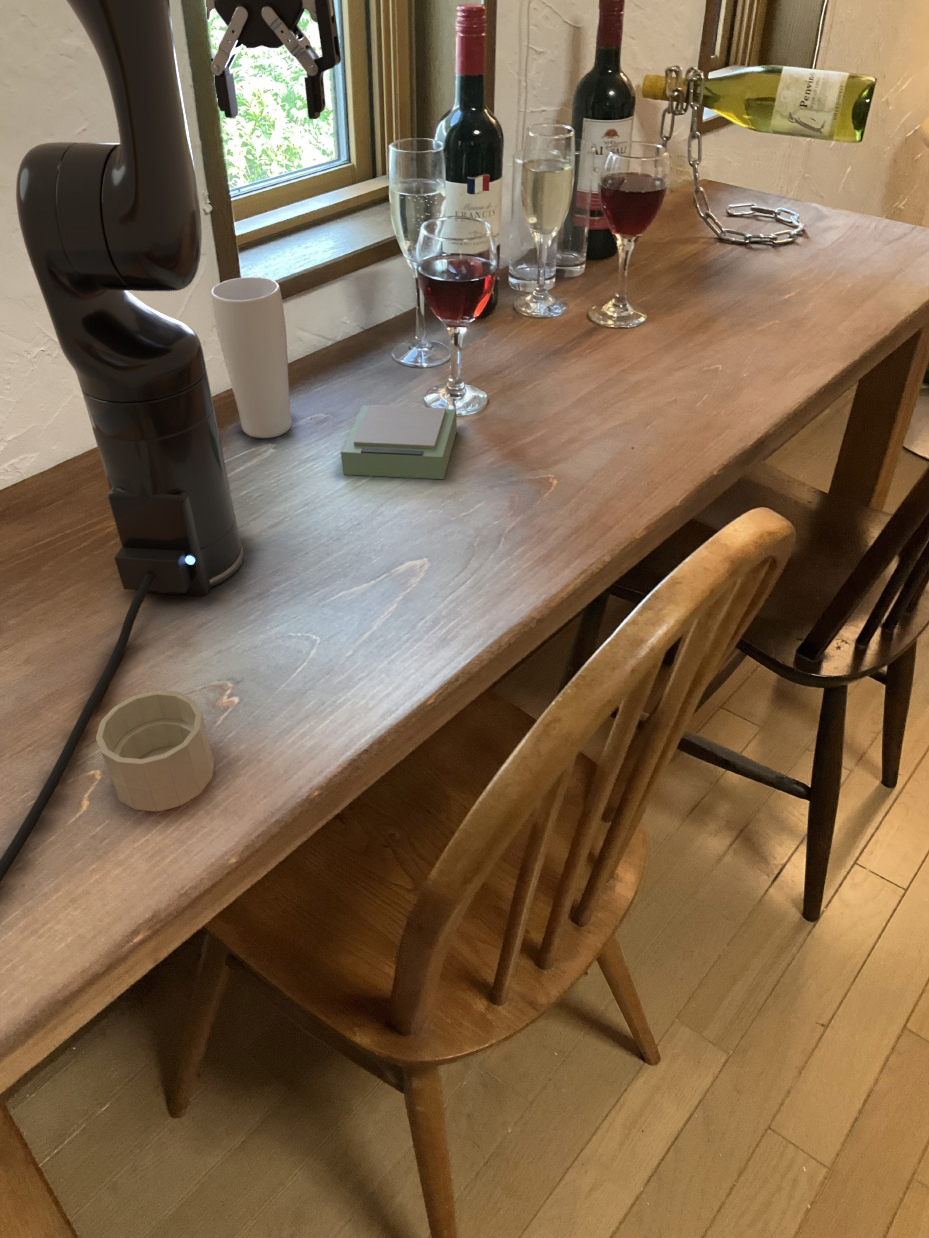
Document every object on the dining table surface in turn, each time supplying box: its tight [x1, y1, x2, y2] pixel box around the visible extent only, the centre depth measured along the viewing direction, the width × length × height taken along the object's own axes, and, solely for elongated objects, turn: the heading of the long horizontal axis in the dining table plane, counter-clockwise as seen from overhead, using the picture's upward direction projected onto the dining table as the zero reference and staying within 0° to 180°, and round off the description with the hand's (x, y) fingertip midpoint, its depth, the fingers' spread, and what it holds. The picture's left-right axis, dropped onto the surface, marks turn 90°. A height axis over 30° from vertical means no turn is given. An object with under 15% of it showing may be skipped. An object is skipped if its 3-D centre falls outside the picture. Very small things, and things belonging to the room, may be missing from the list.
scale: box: [340, 404, 458, 480], centre depth 97 cm, size 10×10×3 cm
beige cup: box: [95, 689, 215, 813], centre depth 62 cm, size 6×6×5 cm
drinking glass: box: [210, 276, 293, 439], centre depth 97 cm, size 7×7×15 cm
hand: (273, 117), depth 96 cm, fingers open, 8 cm apart
